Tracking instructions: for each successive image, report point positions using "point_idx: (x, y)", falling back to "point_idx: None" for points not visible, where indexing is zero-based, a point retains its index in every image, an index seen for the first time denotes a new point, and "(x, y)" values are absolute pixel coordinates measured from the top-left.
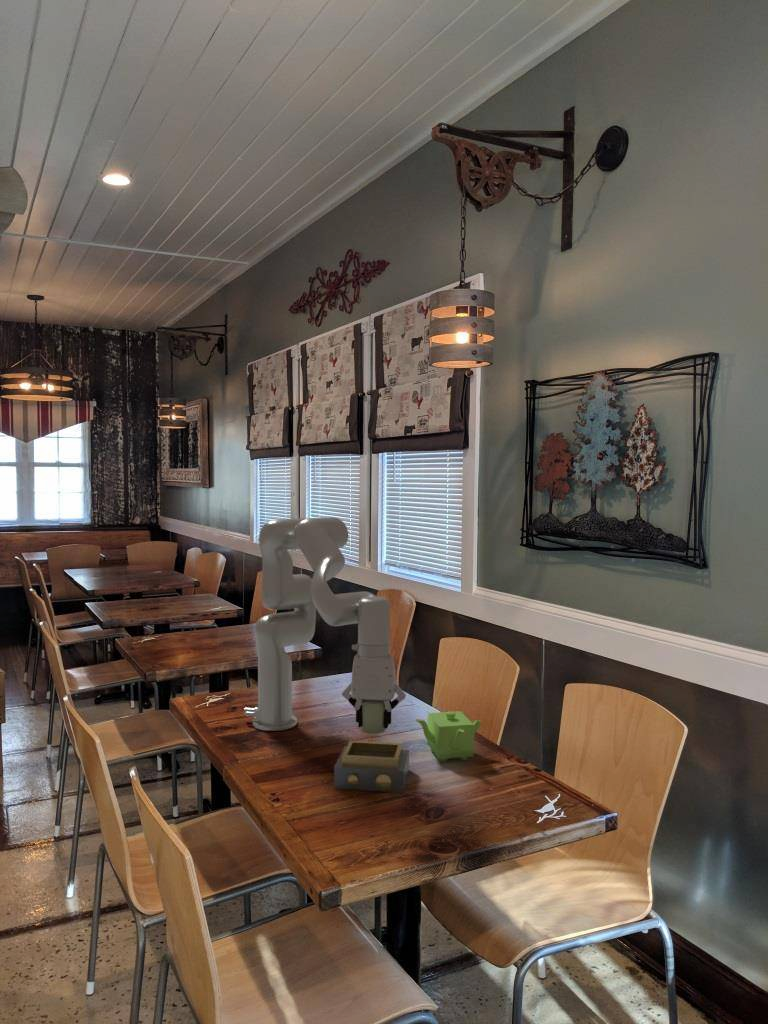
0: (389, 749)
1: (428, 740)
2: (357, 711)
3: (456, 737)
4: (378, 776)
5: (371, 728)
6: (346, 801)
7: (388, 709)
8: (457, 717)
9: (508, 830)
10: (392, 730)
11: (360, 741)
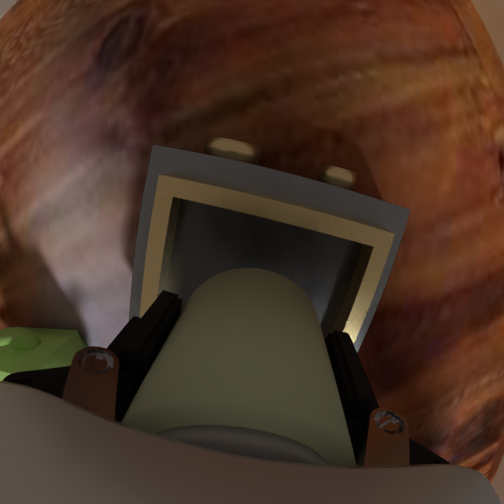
0: None
1: None
2: (370, 411)
3: (5, 334)
4: (250, 144)
5: (269, 284)
6: (353, 108)
7: (101, 364)
8: None
9: (26, 10)
10: None
11: None
